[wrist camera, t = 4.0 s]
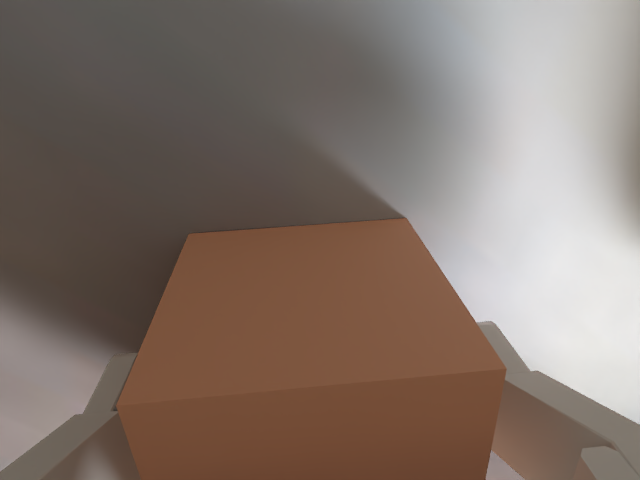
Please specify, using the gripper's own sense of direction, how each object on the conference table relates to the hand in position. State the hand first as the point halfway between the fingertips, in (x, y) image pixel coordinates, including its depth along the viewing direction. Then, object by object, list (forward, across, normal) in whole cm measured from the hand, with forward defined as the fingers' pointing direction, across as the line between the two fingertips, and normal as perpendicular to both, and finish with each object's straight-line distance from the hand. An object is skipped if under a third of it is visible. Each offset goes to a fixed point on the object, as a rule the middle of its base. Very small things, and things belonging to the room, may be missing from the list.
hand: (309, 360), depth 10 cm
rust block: (+2, 0, 0) cm, 2 cm away
